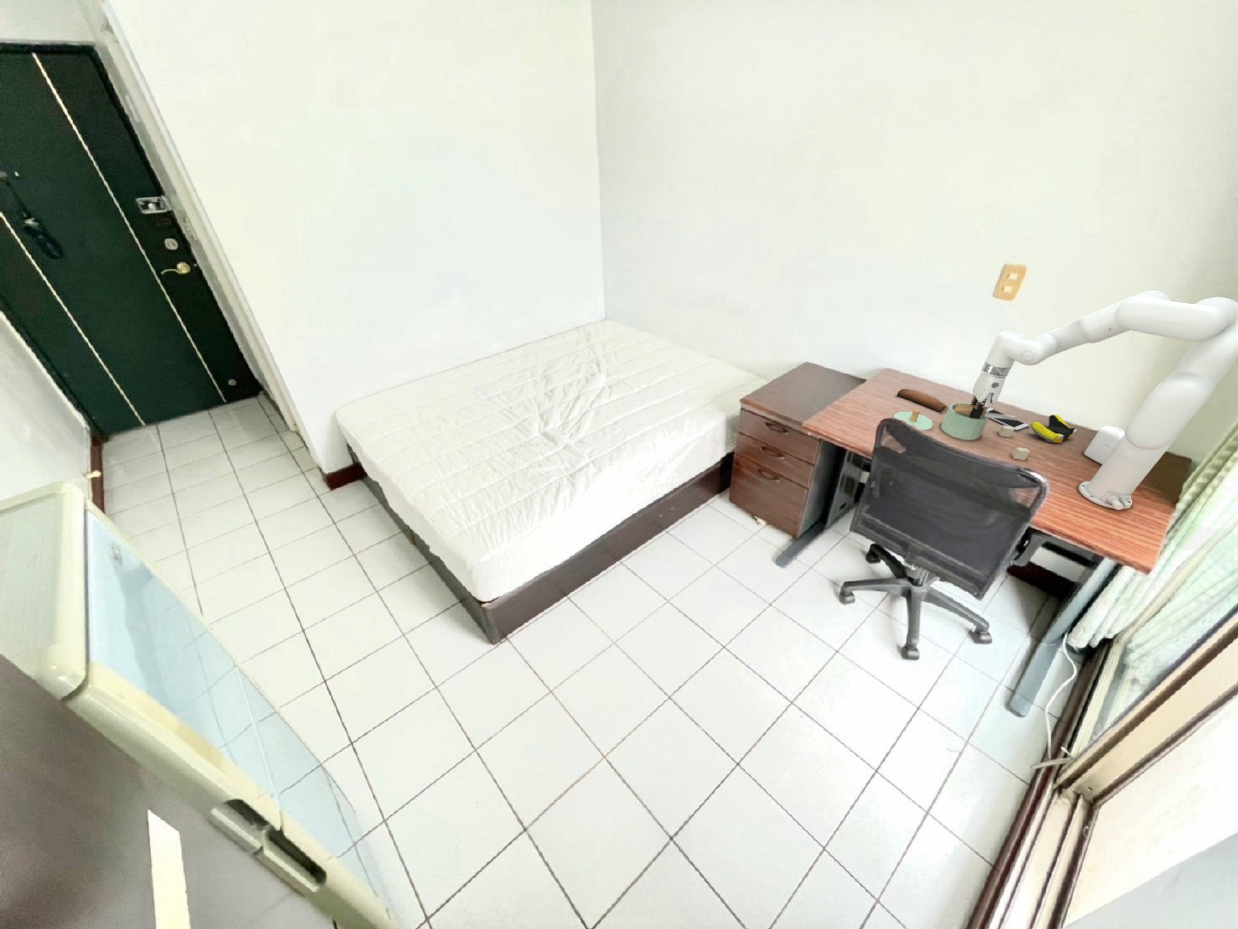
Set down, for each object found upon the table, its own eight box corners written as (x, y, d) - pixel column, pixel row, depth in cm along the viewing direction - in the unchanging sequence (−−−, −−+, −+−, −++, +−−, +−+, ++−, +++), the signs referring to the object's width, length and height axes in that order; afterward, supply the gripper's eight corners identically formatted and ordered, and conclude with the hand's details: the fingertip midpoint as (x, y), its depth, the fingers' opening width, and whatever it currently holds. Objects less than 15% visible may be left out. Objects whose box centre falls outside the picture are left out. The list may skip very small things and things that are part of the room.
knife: (1016, 420, 168) (1020, 413, 167) (955, 413, 173) (958, 406, 171) (1014, 416, 171) (1017, 409, 169) (953, 409, 175) (957, 402, 174)
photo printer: (1080, 453, 169) (1100, 423, 162) (1089, 452, 170) (1110, 421, 163) (1110, 470, 161) (1133, 439, 154) (1120, 468, 162) (1144, 437, 155)
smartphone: (990, 407, 194) (1029, 425, 183) (989, 408, 195) (1028, 426, 184) (978, 411, 192) (1017, 429, 181) (977, 413, 192) (1016, 431, 181)
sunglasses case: (950, 406, 196) (951, 396, 191) (939, 418, 195) (940, 409, 190) (906, 390, 208) (906, 380, 203) (896, 401, 207) (896, 392, 202)
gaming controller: (1023, 434, 180) (1052, 447, 173) (1030, 421, 177) (1060, 434, 169) (1046, 424, 185) (1076, 437, 178) (1054, 412, 182) (1084, 424, 175)
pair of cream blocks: (1024, 460, 167) (1029, 451, 164) (1013, 458, 167) (1018, 450, 165) (1008, 434, 180) (1012, 426, 178) (998, 433, 180) (1002, 425, 178)
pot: (983, 443, 175) (994, 421, 170) (944, 437, 178) (954, 416, 173) (973, 425, 185) (984, 404, 180) (937, 421, 188) (946, 400, 183)
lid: (935, 434, 180) (941, 421, 177) (895, 429, 183) (900, 416, 180) (927, 416, 191) (933, 404, 187) (890, 412, 194) (894, 399, 190)
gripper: (1017, 380, 155) (991, 428, 166) (1001, 360, 168) (978, 406, 179) (990, 377, 157) (966, 425, 168) (976, 357, 169) (955, 404, 180)
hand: (972, 415), depth 173 cm, fingers closed on knife, 2 cm apart
